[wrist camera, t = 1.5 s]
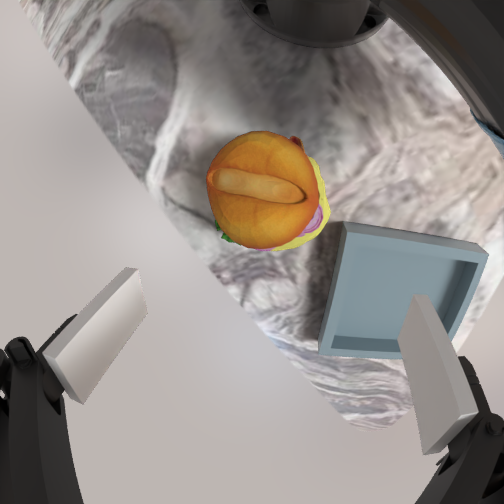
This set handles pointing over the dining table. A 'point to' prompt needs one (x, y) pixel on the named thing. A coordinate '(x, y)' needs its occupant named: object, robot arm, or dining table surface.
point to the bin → (394, 287)
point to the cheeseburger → (267, 192)
